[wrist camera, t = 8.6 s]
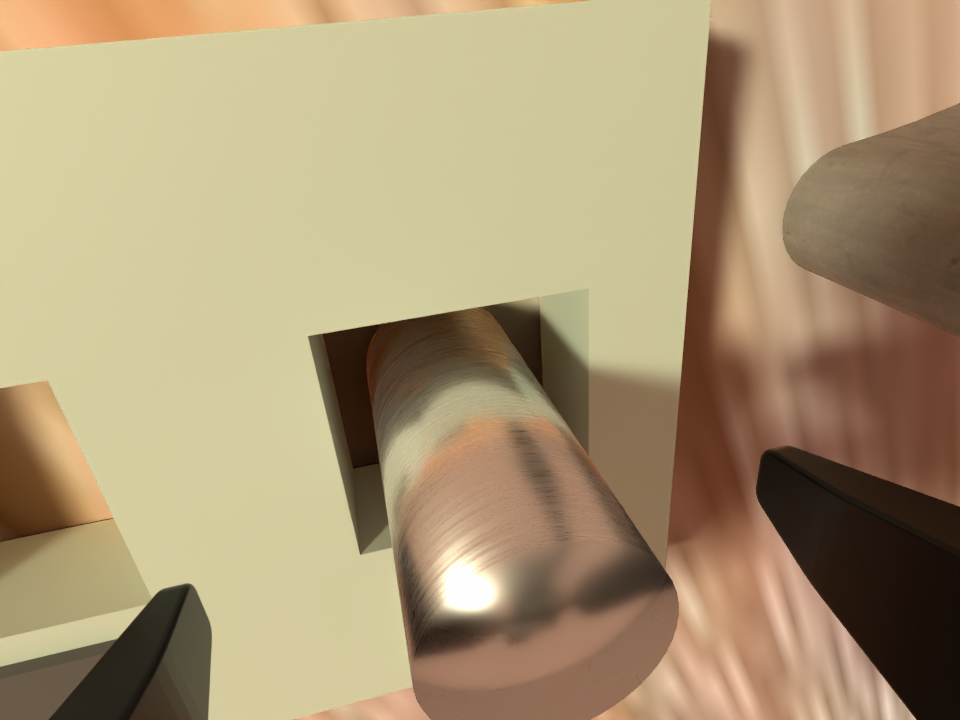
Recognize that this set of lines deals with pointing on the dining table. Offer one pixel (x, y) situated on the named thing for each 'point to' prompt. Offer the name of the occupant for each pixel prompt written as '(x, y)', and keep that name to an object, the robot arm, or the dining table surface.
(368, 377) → the plug
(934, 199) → the grey upright panel
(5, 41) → the dining table surface
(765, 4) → the dining table surface
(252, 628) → the socket block
